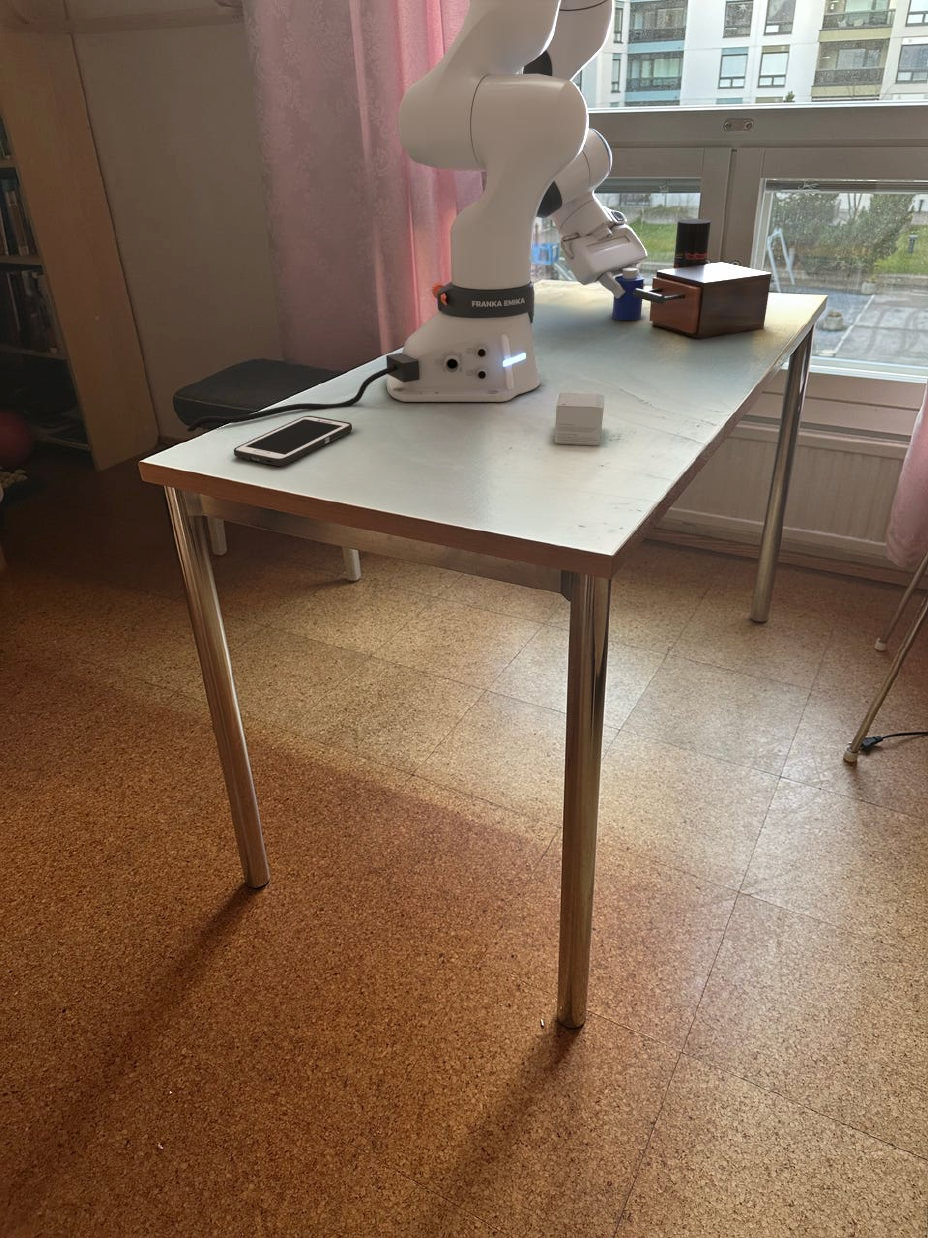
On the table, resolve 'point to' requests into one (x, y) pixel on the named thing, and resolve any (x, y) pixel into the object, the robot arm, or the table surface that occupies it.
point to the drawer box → (724, 297)
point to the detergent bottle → (628, 296)
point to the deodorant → (691, 242)
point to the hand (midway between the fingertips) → (631, 292)
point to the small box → (579, 418)
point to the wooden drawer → (673, 303)
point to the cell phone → (292, 440)
